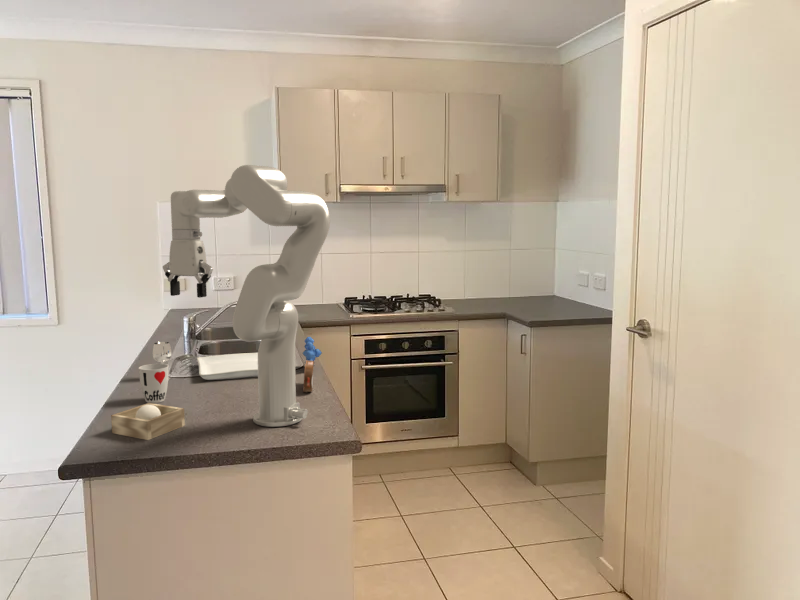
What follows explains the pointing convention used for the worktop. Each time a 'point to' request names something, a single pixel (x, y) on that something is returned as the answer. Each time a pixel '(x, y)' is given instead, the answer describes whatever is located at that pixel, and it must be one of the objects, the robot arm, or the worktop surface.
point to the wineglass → (162, 352)
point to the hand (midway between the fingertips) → (188, 296)
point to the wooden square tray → (148, 422)
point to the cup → (154, 382)
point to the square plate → (228, 366)
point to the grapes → (311, 350)
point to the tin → (308, 376)
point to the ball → (148, 412)
